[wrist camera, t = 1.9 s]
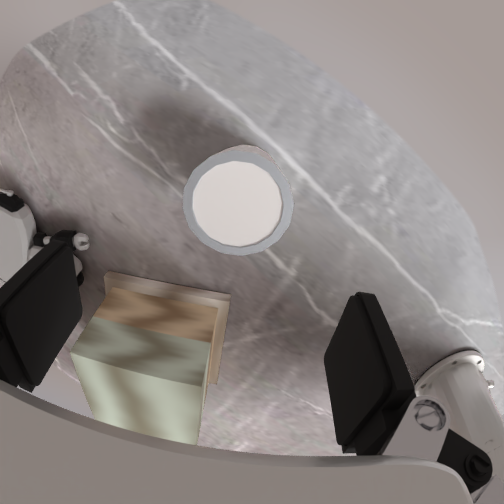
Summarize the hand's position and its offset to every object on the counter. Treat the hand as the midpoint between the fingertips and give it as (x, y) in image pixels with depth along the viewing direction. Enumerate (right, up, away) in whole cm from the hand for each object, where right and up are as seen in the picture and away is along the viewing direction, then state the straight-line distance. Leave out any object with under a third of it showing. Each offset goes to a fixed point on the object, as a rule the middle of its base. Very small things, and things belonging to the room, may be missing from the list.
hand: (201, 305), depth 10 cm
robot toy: (-22, +3, +19) cm, 30 cm away
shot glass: (+1, +8, +15) cm, 17 cm away
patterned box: (-8, -7, +23) cm, 26 cm away
